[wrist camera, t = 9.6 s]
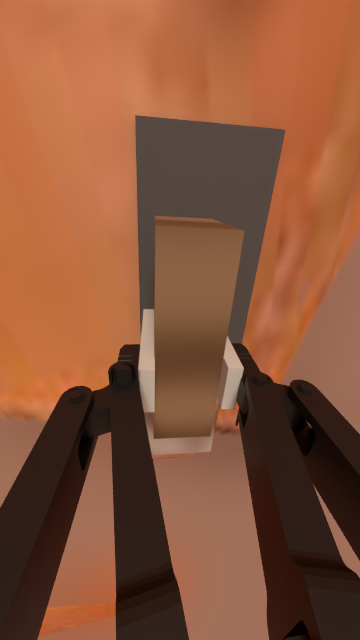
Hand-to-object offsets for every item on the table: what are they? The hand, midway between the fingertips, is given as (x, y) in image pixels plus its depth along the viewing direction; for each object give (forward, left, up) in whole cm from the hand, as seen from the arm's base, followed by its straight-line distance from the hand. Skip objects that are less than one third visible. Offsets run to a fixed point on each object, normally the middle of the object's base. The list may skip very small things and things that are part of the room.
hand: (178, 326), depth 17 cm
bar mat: (+2, +3, -5) cm, 6 cm away
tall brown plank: (0, -3, 0) cm, 3 cm away
